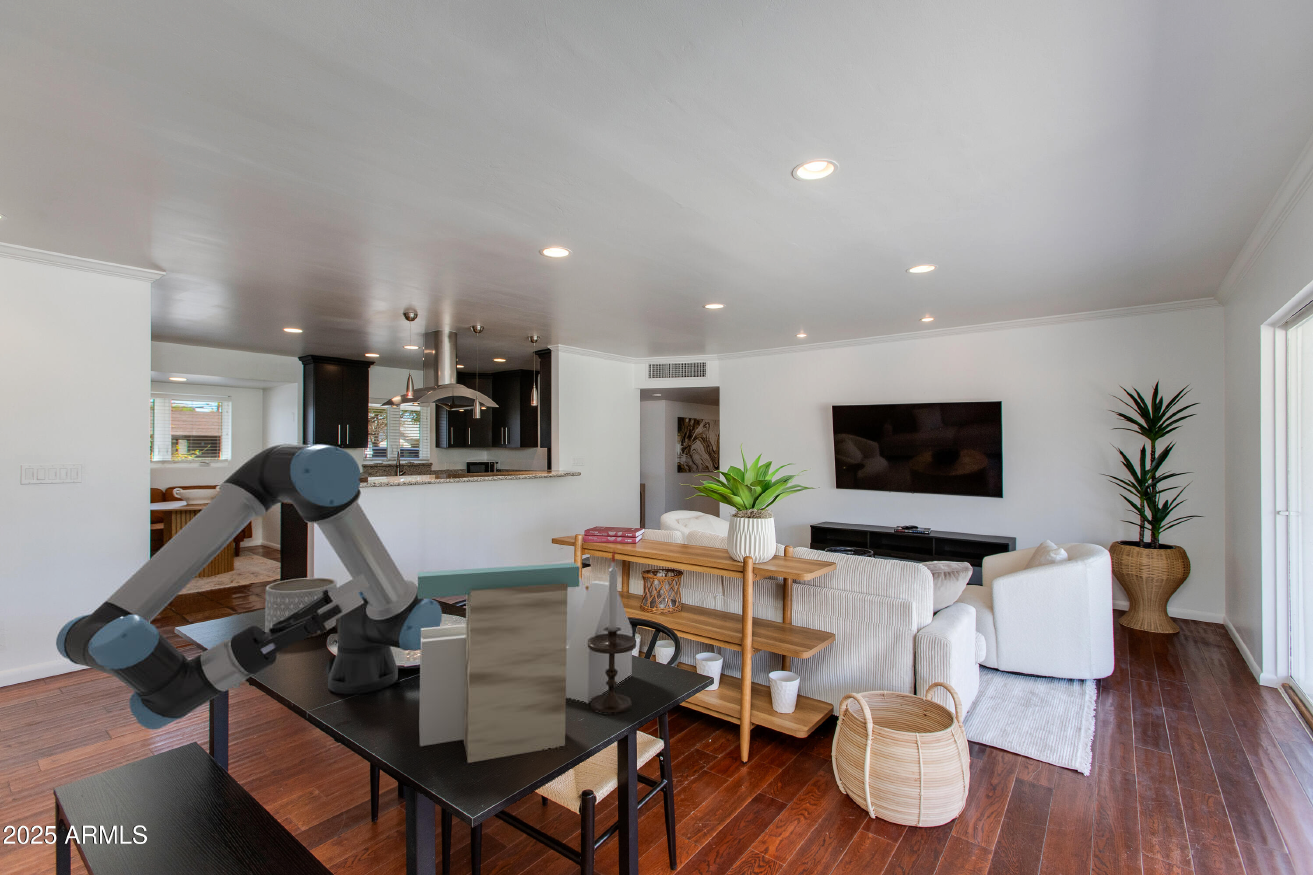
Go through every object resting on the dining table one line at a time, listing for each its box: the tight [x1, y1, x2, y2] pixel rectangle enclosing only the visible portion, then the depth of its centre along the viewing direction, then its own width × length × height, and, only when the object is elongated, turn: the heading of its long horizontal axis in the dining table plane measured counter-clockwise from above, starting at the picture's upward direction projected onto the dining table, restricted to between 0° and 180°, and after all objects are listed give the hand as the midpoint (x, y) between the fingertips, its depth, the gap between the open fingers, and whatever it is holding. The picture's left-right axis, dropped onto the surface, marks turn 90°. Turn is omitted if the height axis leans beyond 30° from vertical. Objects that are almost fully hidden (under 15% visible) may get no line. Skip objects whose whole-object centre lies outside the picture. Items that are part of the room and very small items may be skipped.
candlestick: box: [588, 549, 637, 715], centre depth 138 cm, size 11×11×35 cm
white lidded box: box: [418, 623, 466, 747], centre depth 126 cm, size 9×18×20 cm, turn 112°
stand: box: [463, 583, 568, 764], centre depth 120 cm, size 9×18×31 cm, turn 112°
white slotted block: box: [566, 578, 633, 704], centre depth 151 cm, size 19×15×25 cm
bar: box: [417, 562, 581, 599], centre depth 119 cm, size 4×30×4 cm, turn 112°
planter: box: [264, 577, 338, 638], centre depth 187 cm, size 19×19×14 cm
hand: (363, 587), depth 112 cm, fingers open, 13 cm apart
